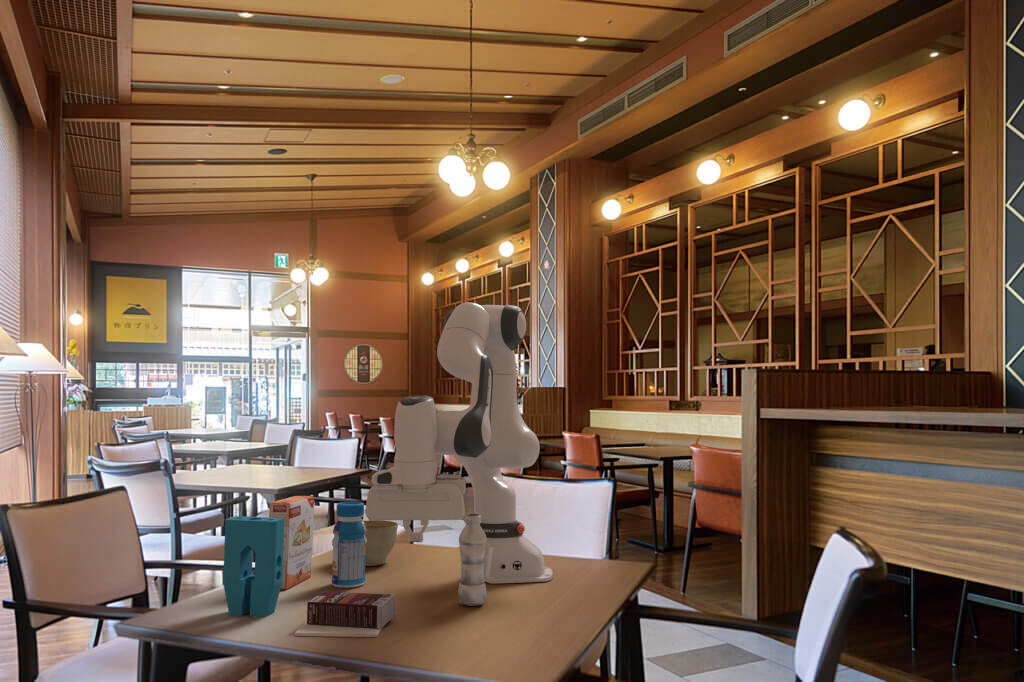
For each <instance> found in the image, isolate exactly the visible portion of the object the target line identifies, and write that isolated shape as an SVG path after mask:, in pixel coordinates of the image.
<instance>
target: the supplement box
mask: <svg viewBox="0 0 1024 682" xmlns="http://www.w3.org/2000/svg"><path fill="white" fill-rule="evenodd" d="M395 598H396V597H395V594H394V593H393V594H391V593H390V594H389V593H388V594H387V593H369V592H368V593H366V592H365V593H364V592H346V591H345V592H343V591H326V590H325V591H323V592H321V593H320V594H318V595H316V596H315V597H314V598H312V599H311V600H308V601H307V606H306V607H307V608H306V621H307V624H309V625H327V626H346V627H362V628H377V629H381V628H382V627H383V628H384V626H386V625H387V623H389V622H390V621H391V620H392V619H393V618H394V617H395V613H396V611H395V610H396V608H395V607H396V603H395V600H396V599H395ZM383 628H382V629H383Z"/></svg>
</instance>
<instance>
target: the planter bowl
mask: <svg viewBox="0 0 1024 682" xmlns="http://www.w3.org/2000/svg"><path fill="white" fill-rule="evenodd" d="M363 522H364V524H365V526H366V533H365V537H366V539H367V544H366V553H365V567H372V566H381V565H383V564H386V561H387V557H388V556H389V554H391V552H392V550H393V548H394V546H395V543H396V541H397V540H396V539H397V536H398V535H397V534H398V528H399V523H398V522H396V521H394V520H369V519H368V520H363Z"/></svg>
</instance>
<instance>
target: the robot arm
mask: <svg viewBox="0 0 1024 682" xmlns="http://www.w3.org/2000/svg"><path fill="white" fill-rule="evenodd" d="M442 328H443V329H442V333H441V335H440V337H439V340H438V341H439V342H438V343H437V348H436V349H437V350H436V351H437V352H436V355H437V359H438V362H439V364H440V365H441V367H442V368H443V369H444V370H445V371H446V372H447V373H448V374H450V375H452V376H454V377H455V378H457V379H460V380H464V381H466V382H469V383H471V391H470V400H469V401H470V402H469V406H468V407H467V408H465V409H461V410H439V409H438V408H436V405H435V400H434V398H433V397H432V396H429V395H424V394H422V395H421V394H419V395H416V394H415V395H409V396H405V397H403V398H401V399H400V400H399V401H398V402H397V405H396V410H395V415H394V429H393V430H394V433H393V434H394V435H393V436H394V437H393V439H394V444H395V449H396V450H395V453H394V454H395V455H394V458H393V459H394V460H393V466H391V467H390V466H389V467H386V468H384V469H382V470H379V471H376V472H375V473H373V474H372V476H371V483H372V486H371V487H370V489H369V490H368V493H367V497H366V506H365V516H366V518H367V519H368V520H383V521H402V527H403V528H404V530H405V532H406V534H407V542H408V543H423V542H424V533H425V530H426V528H427V527H428V525H429V521H460V520H461V519H462V518H464V517H465V512H466V511H465V510H466V509H465V500H464V495H465V494H466V489H467V488H466V486H467V484H466V480H465V478H464V477H463V476H461V475H459V474H458V473H449V474H447V473H438V458H437V457H438V456H437V455H439V456H440V455H441V456H454V457H455V458H456V460H457V461H458V462H459V463H460V464H461V465H462V466H463V467H464V470H465V471H466V473H467V475H468V477H469V480H470V483H471V486H472V493H473V514H480V515H481V523H480V526H481V528H482V529H483V531H484V532H485V534H486V538H487V540H486V548H485V557H484V576H485V582H486V583H488V584H514V583H515V584H516V583H517V584H518V583H540V582H541V583H542V582H549V581H550V580H552V579H553V577H554V574H553V573H554V572H553V570H552V568H550V567H549V566H546V564H545V563H546V562H545V559H544V555H543V552H542V551H541V549H540V548H539V547H538V546H537V545H536V544H534V543H533V542H532V541H531V540H529V539H528V538H527V537H526V536H524V535H523V534H524V532H525V530H526V528H525V525H524V524H523V523H522V522H521V521H519V520H517V519H516V516H517V514H516V512H517V511H516V510H517V507H516V505H517V504H516V502H517V498H516V497H517V494H516V491H515V489H514V488H513V486H512V485H510V484H509V483H508V482H507V481H506V480H505V479H504V477H503V475H502V472H501V469H506V470H507V469H509V470H518V469H525V468H529V467H531V466H533V465H534V464H535V463H536V461H537V459H538V458H539V454H540V452H541V451H540V450H541V449H540V441H539V438H538V437H537V434H536V433H535V432H534V431H532V430H531V429H530V427H528V425H527V424H526V422H525V421H524V419H523V417H522V414H521V412H520V409H519V405H518V398H517V397H518V395H517V363H516V355H515V349H517V347H518V346H519V345H520V344H521V343H522V341H524V338H525V337H526V332H527V321H526V315H525V313H524V311H523V310H522V309H521V308H520V307H519V306H517V305H513V304H506V305H501V304H482V305H480V304H478V303H475V302H471V301H470V302H468V301H467V302H463V303H460V304H459V305H457V306H456V307H455V308H453V309H450V310H449V311H448V312H447V313H446V315H445V316H444V319H443V325H442ZM412 521H420V526H422V528H421V530H420V531H417V532H416V531H412V528H411V527H410V525H411V523H412Z"/></svg>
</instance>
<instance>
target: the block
mask: <svg viewBox="0 0 1024 682" xmlns="http://www.w3.org/2000/svg"><path fill="white" fill-rule="evenodd" d="M224 523H225V525H224V543H223V544H224V549H223V571H222V572H223V574H222V575H223V577H222V580H223V581H222V584H223V585H222V586H223V590H224V593H225V594H224V595H225V600H226V605H227V609H228V614H229V616H234V617H235V616H236V617H242V616H243V615H245V614H247V613H249V617H250V618H266V617H268V616H270V615H271V614H274V613H275V610H276V607H277V603H278V601H279V600H278V599H279V595H280V592H281V585H282V582H283V551H284V518H272V517H269V516H268V517H267V516H246V515H244V516H243V515H242V516H241V515H240V516H239V515H237V516H231V517H227V518H225V520H224ZM253 553H254V554H255V555H254V574H253Z"/></svg>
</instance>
